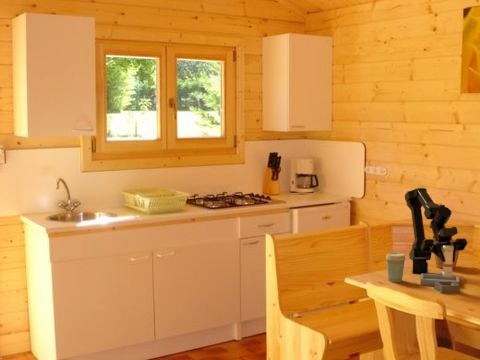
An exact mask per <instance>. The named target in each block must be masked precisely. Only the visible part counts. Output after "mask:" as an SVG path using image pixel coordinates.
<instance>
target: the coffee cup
mask: <svg viewBox="0 0 480 360" xmlns="http://www.w3.org/2000/svg"><path fill="white" fill-rule="evenodd" d="M385 259H386V268H387V278H388V279H387V280H388V281H389V282H391V283H402V282H403V274H404V270H405V269H404V268H405V262H406V261H405V260H406V256H405V254H404V253H400V252H388V253H386V256H385Z"/></svg>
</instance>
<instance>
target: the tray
mask: <svg viewBox="0 0 480 360" xmlns="http://www.w3.org/2000/svg"><path fill="white" fill-rule="evenodd" d="M459 277H460V276H459V275H453V277H451V278H446V277H443V276H442V274H436V273H435V274H433V273H427V274H420V284H419V285H420V286H429V287H430V286H431V287H434V281H453V282H455V283H457V284H458V285H460V278H459Z"/></svg>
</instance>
